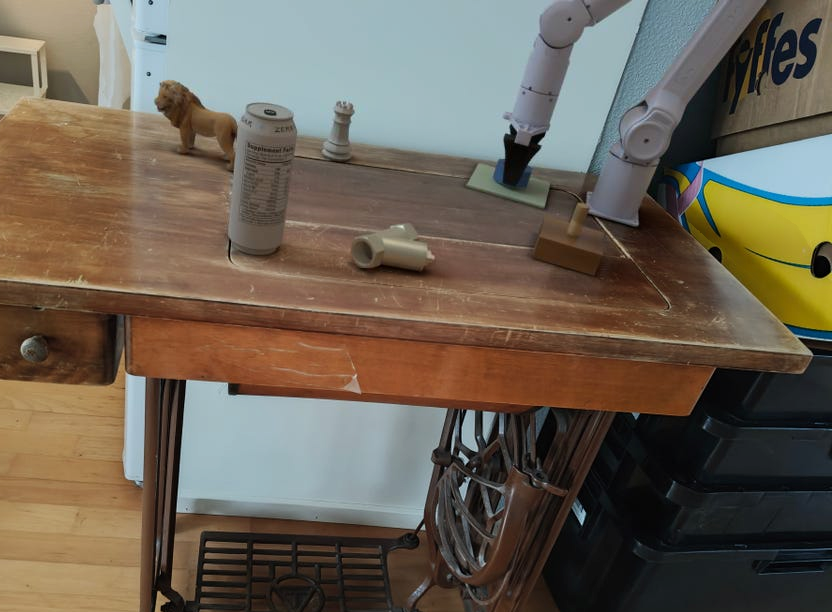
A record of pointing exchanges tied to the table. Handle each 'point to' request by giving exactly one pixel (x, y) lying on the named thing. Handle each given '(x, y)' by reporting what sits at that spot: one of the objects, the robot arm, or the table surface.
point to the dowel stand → (570, 242)
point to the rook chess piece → (339, 133)
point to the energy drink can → (262, 177)
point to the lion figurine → (196, 119)
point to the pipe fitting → (392, 249)
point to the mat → (530, 195)
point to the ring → (499, 175)
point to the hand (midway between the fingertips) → (511, 178)
